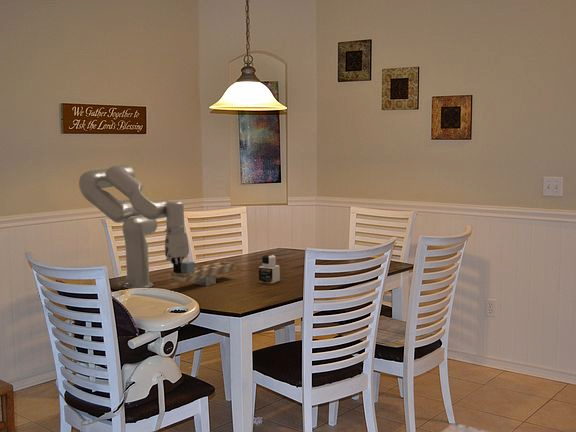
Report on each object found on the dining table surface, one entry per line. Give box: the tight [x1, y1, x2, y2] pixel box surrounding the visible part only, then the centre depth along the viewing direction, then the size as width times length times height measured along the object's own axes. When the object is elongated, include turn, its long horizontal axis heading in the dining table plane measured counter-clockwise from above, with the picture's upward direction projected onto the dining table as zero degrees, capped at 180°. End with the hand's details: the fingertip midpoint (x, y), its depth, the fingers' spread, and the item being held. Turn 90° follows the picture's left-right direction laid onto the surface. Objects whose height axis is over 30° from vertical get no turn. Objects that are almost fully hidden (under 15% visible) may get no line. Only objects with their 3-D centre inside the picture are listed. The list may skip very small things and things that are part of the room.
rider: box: [180, 260, 196, 274], centre depth 310 cm, size 4×4×5 cm
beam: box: [170, 261, 237, 283], centre depth 318 cm, size 32×8×4 cm, turn 141°
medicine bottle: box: [258, 254, 281, 284], centre depth 320 cm, size 7×7×12 cm
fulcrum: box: [193, 275, 217, 287], centre depth 318 cm, size 6×8×4 cm
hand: (177, 272), depth 305 cm, fingers closed
